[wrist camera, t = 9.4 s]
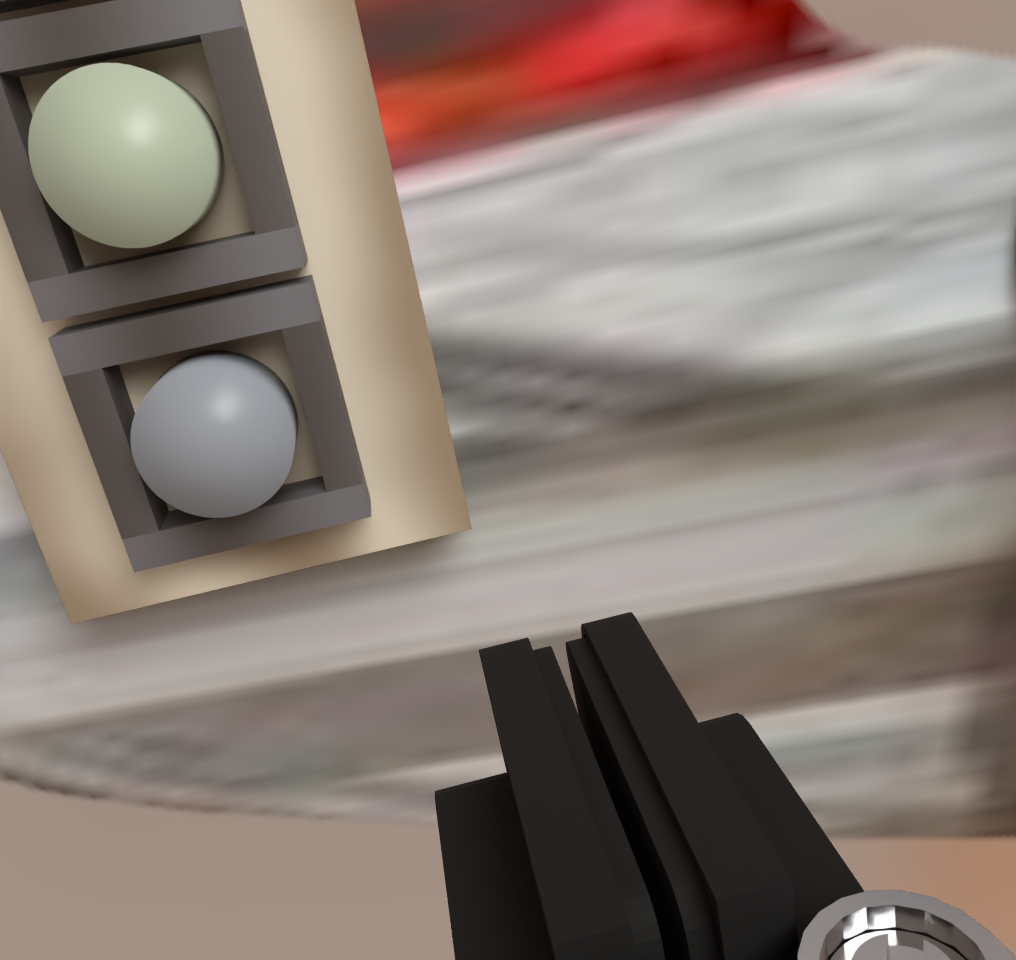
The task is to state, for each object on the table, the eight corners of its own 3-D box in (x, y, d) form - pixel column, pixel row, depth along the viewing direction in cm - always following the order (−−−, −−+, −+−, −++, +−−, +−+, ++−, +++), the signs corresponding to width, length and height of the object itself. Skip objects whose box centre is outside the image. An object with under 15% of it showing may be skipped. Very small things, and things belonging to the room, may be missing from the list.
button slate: (275, 335, 26) (270, 351, 24) (314, 473, 27) (311, 497, 25) (125, 368, 25) (108, 386, 23) (173, 506, 27) (159, 533, 25)
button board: (258, -410, 23) (238, -532, 19) (461, 494, 32) (478, 548, 27) (-254, -330, 22) (-395, -440, 18) (96, 580, 31) (56, 649, 27)
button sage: (196, 54, 23) (183, 46, 21) (243, 222, 25) (235, 228, 23) (29, 86, 23) (0, 81, 21) (86, 254, 24) (65, 264, 22)
